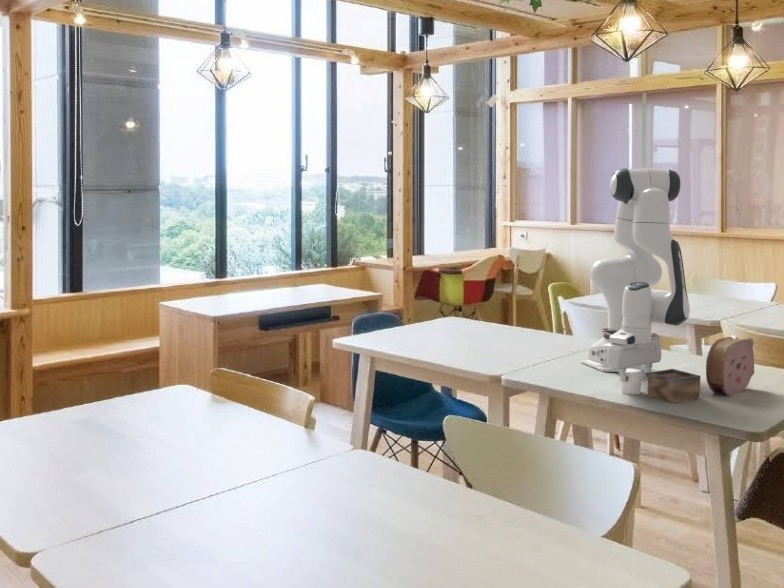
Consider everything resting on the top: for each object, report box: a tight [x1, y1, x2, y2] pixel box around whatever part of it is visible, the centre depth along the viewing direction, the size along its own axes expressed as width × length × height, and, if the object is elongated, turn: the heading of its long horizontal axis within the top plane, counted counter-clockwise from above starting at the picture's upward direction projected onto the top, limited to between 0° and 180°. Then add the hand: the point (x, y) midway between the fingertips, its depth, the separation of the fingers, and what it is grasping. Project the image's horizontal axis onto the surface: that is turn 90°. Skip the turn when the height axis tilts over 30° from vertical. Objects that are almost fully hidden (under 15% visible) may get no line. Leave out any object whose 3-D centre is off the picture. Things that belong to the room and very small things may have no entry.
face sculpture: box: [705, 336, 755, 397], centre depth 251 cm, size 20×7×17 cm, turn 132°
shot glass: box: [619, 368, 644, 396], centre depth 251 cm, size 7×7×7 cm
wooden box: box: [647, 368, 701, 404], centre depth 245 cm, size 11×11×7 cm
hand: (634, 379), depth 250 cm, fingers open, 8 cm apart
